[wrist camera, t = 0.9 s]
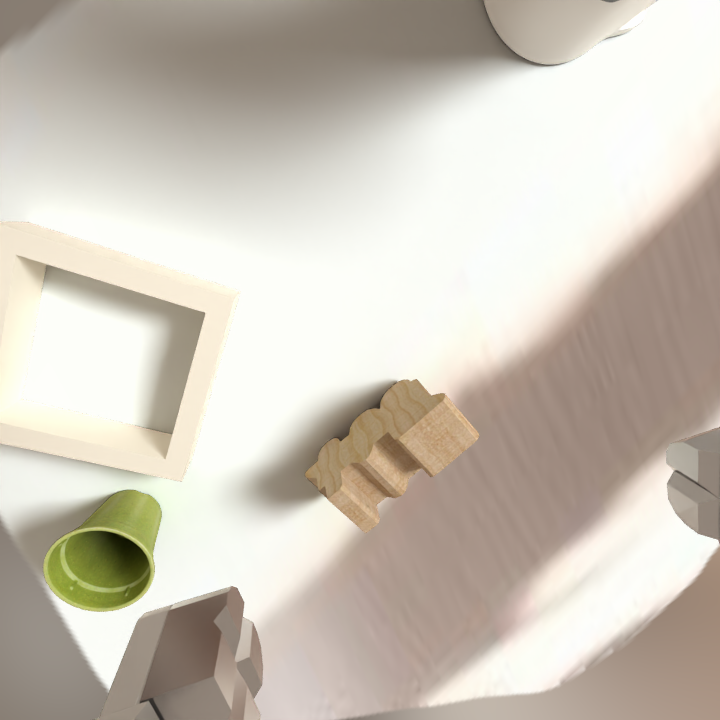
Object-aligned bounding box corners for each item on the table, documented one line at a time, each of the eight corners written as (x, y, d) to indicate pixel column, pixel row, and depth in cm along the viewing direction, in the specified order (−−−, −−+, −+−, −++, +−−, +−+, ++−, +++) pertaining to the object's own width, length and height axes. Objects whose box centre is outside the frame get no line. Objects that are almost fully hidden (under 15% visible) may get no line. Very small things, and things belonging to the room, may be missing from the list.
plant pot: (113, 560, 49) (77, 626, 41) (69, 494, 46) (20, 552, 38) (191, 529, 49) (171, 589, 41) (152, 463, 46) (122, 513, 38)
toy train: (304, 461, 49) (307, 516, 40) (417, 364, 48) (448, 397, 38) (336, 490, 51) (346, 549, 41) (445, 397, 50) (482, 437, 40)
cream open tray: (28, 222, 38) (-10, 220, 33) (240, 291, 43) (234, 298, 38) (-4, 411, 42) (-41, 434, 38) (192, 456, 47) (181, 481, 42)
